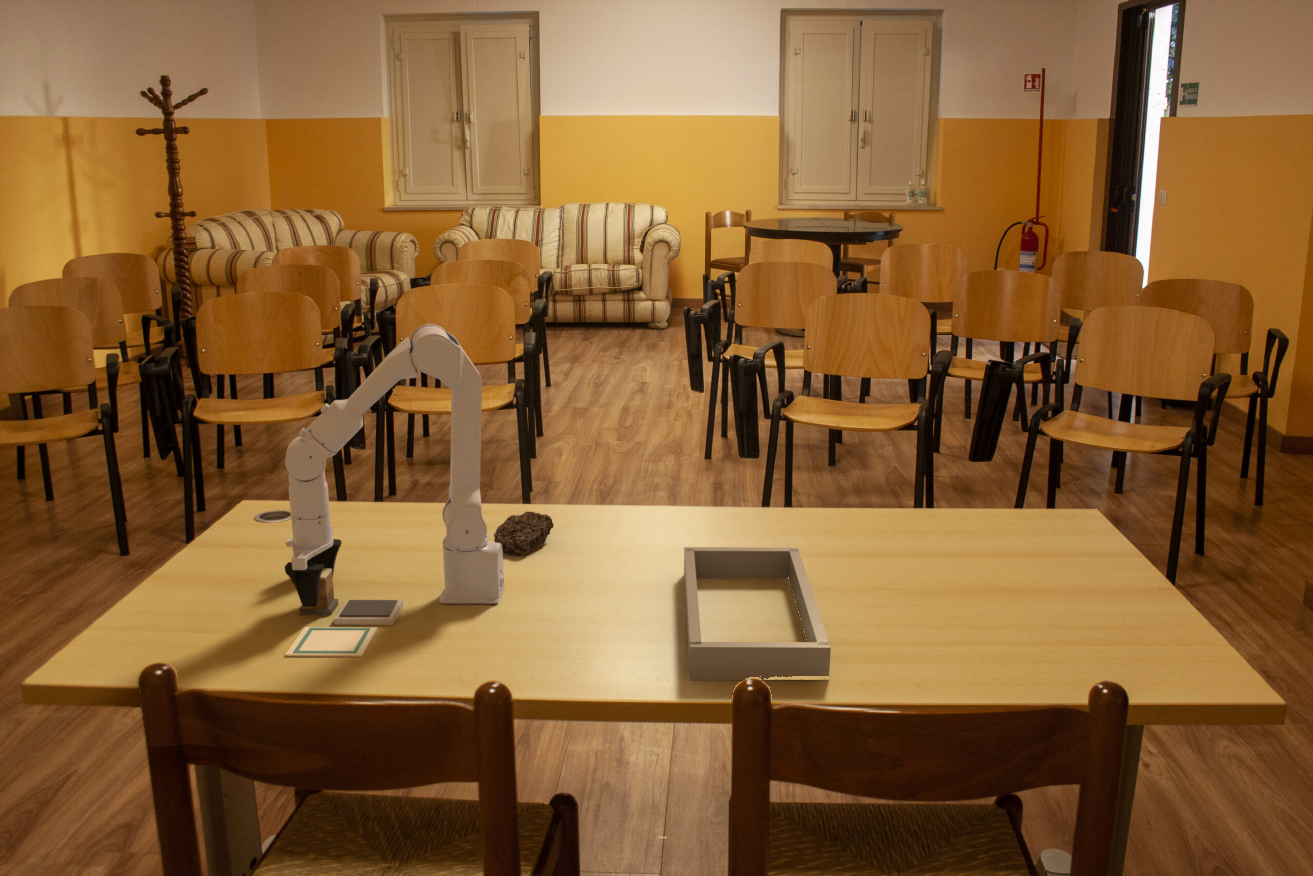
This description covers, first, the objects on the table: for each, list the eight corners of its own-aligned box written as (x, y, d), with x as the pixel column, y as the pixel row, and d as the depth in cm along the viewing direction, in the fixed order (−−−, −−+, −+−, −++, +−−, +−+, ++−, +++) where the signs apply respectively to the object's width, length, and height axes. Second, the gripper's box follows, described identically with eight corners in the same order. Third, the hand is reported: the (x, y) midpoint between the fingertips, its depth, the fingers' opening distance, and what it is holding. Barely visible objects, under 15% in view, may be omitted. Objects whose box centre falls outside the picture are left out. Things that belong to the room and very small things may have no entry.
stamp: (338, 604, 175) (335, 568, 174) (331, 615, 172) (327, 577, 170) (307, 604, 175) (303, 567, 174) (299, 615, 172) (295, 577, 170)
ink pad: (403, 605, 175) (402, 598, 175) (393, 624, 168) (392, 617, 168) (346, 605, 175) (346, 598, 175) (334, 624, 168) (333, 616, 168)
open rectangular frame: (796, 575, 187) (797, 547, 186) (828, 680, 152) (830, 647, 150) (684, 574, 187) (684, 547, 186) (689, 680, 152) (690, 647, 150)
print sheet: (377, 629, 167) (377, 626, 167) (362, 656, 158) (361, 654, 158) (305, 628, 167) (304, 626, 167) (285, 656, 158) (285, 653, 158)
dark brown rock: (522, 530, 208) (521, 505, 207) (563, 541, 203) (562, 515, 201) (479, 548, 200) (478, 522, 198) (520, 560, 194) (519, 533, 192)
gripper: (299, 498, 176) (306, 577, 180) (268, 530, 162) (276, 614, 166) (343, 498, 176) (349, 577, 180) (316, 530, 162) (323, 615, 166)
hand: (317, 595), depth 173 cm, fingers open, 7 cm apart
